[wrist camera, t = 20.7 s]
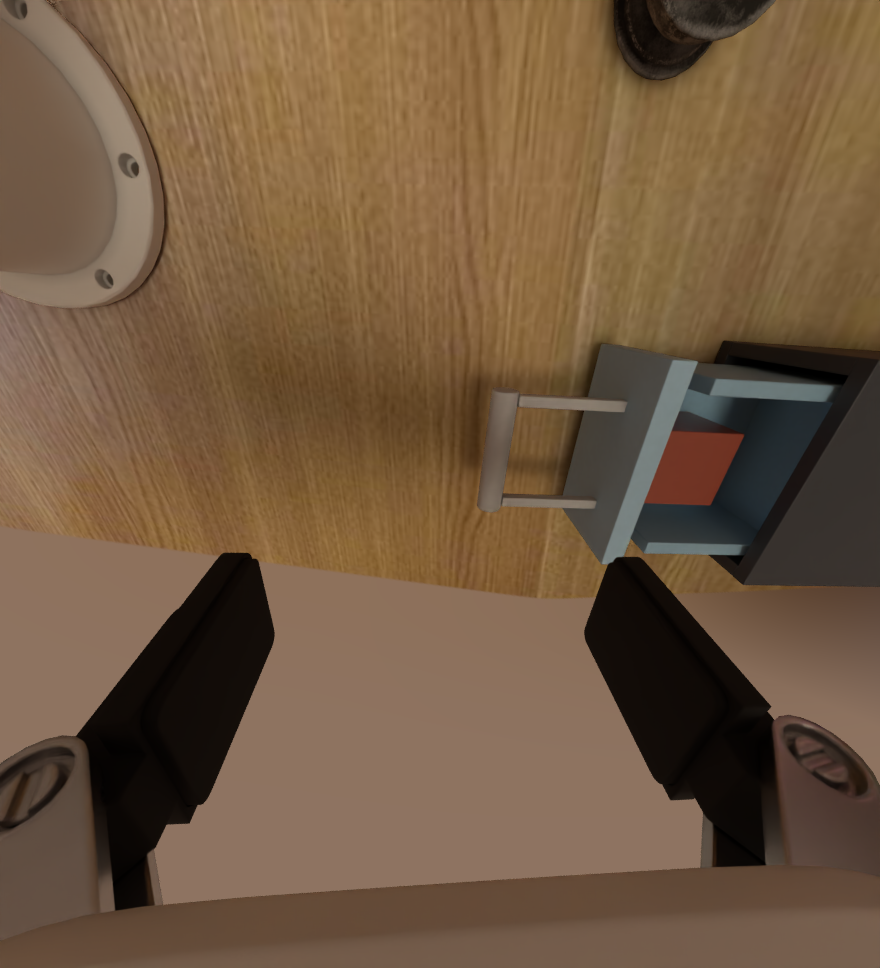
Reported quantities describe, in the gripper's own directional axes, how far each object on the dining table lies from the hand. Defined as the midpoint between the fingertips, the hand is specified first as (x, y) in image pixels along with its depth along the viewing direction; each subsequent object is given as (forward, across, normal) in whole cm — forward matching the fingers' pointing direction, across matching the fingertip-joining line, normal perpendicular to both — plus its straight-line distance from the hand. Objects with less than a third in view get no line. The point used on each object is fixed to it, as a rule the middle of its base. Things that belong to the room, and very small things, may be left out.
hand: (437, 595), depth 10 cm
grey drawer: (+15, -13, 0) cm, 20 cm away
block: (+14, -15, 0) cm, 20 cm away
